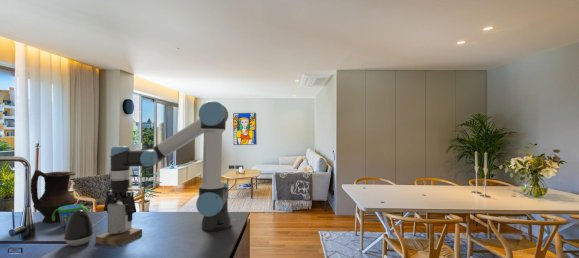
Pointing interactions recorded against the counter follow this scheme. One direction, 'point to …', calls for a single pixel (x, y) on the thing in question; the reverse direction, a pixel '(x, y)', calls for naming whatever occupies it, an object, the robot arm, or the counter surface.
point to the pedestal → (118, 237)
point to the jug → (52, 194)
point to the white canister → (116, 218)
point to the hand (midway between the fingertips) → (119, 227)
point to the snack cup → (67, 212)
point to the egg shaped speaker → (78, 228)
